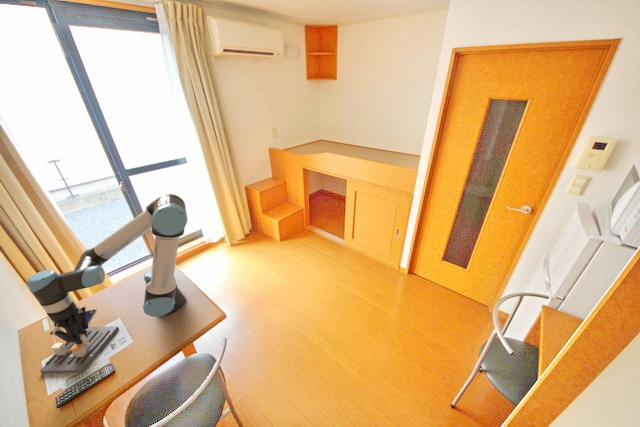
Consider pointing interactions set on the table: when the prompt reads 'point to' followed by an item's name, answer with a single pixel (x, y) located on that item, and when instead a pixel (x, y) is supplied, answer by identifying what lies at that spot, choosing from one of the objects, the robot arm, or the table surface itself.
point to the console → (79, 364)
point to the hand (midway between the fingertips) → (85, 345)
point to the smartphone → (89, 315)
